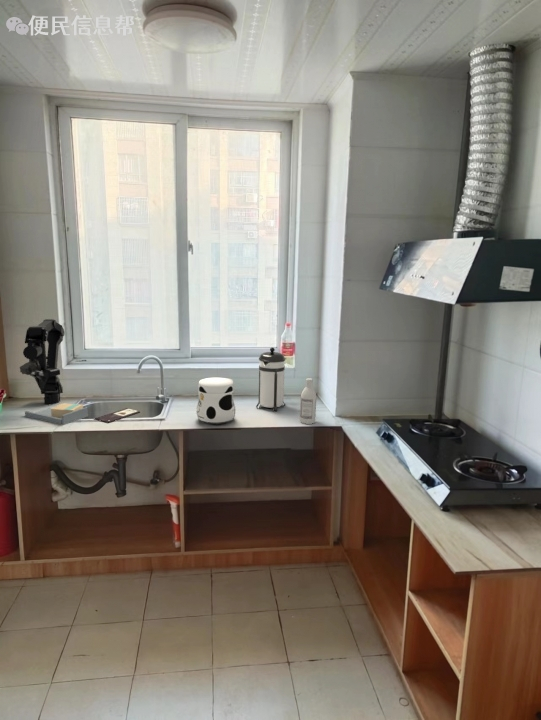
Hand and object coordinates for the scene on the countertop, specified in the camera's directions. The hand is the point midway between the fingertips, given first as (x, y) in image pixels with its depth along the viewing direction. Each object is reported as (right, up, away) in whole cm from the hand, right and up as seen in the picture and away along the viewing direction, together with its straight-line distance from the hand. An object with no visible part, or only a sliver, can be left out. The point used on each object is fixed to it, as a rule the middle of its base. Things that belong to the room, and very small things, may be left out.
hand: (41, 389), depth 208 cm
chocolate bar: (+33, -13, +4) cm, 36 cm away
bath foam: (+119, -15, +2) cm, 120 cm away
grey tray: (+8, -13, -3) cm, 16 cm away
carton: (+13, -12, -4) cm, 18 cm away
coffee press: (+103, -10, +23) cm, 106 cm away
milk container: (+78, -14, +1) cm, 79 cm away
